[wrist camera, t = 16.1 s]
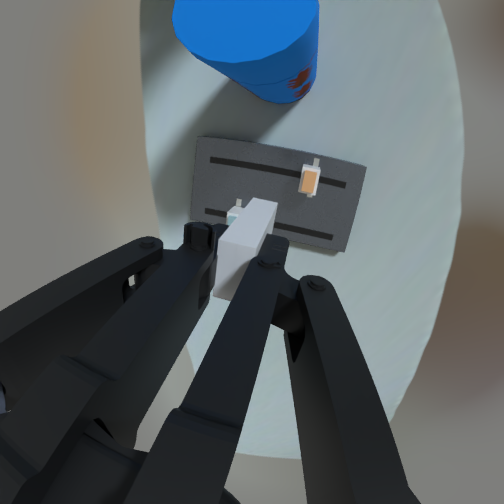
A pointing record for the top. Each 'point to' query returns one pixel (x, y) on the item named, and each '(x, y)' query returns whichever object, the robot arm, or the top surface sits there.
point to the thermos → (254, 42)
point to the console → (277, 189)
